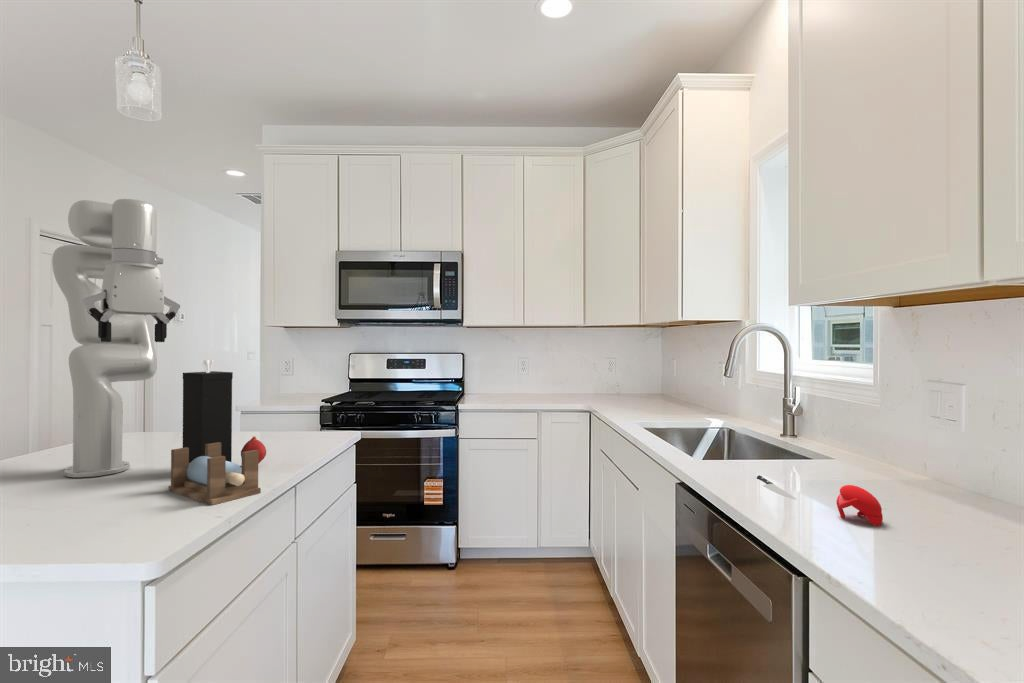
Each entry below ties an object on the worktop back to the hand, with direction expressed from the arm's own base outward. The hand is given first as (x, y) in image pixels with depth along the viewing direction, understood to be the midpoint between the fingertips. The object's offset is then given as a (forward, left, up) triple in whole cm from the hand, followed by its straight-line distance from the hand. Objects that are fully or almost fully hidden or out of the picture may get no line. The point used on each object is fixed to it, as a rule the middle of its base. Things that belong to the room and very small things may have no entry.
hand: (133, 341), depth 107 cm
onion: (-3, +28, -32) cm, 43 cm away
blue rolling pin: (+11, +11, -31) cm, 35 cm away
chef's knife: (+112, +82, -33) cm, 143 cm away
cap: (+128, +68, -33) cm, 149 cm away
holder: (+11, +11, -32) cm, 36 cm away
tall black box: (-8, +19, -32) cm, 38 cm away
